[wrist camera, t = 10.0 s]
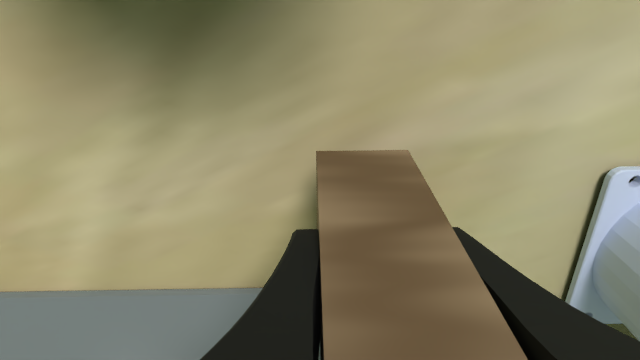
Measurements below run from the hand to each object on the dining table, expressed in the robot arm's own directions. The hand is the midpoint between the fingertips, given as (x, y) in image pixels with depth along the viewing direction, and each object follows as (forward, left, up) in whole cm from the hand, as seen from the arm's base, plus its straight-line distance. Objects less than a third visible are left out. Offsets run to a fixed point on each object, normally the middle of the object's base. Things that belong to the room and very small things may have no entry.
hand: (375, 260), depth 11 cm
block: (0, 0, -4) cm, 4 cm away
